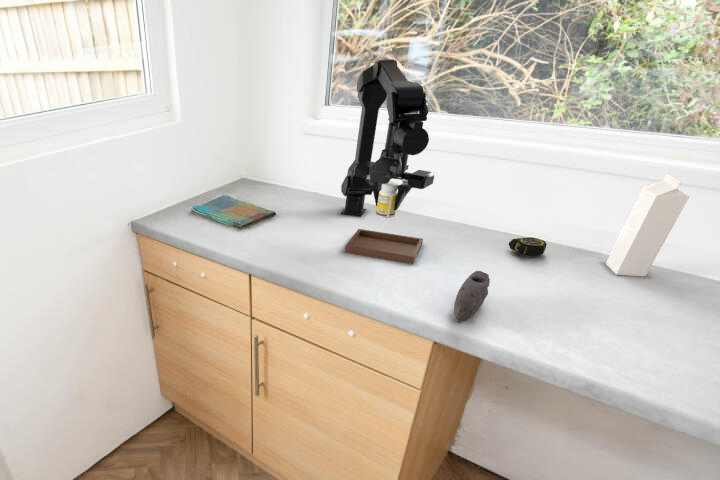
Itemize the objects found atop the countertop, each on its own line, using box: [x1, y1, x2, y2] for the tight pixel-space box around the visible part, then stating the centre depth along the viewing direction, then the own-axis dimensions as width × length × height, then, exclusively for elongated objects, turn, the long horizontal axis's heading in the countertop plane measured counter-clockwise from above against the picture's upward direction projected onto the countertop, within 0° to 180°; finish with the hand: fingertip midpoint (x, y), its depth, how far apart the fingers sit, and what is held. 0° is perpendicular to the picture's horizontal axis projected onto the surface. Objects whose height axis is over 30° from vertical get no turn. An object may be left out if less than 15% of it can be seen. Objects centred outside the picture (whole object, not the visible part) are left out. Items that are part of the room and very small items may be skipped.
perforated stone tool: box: [453, 270, 491, 323], centre depth 99 cm, size 15×5×7 cm, turn 141°
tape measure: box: [508, 236, 547, 258], centre depth 121 cm, size 7×7×4 cm
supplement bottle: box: [375, 180, 400, 219], centre depth 121 cm, size 5×5×8 cm
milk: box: [605, 173, 690, 277], centre depth 107 cm, size 6×6×22 cm
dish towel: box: [189, 194, 277, 230], centre depth 154 cm, size 17×23×2 cm
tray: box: [344, 228, 424, 265], centre depth 128 cm, size 13×18×2 cm
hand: (386, 207), depth 123 cm, fingers closed on supplement bottle, 5 cm apart
